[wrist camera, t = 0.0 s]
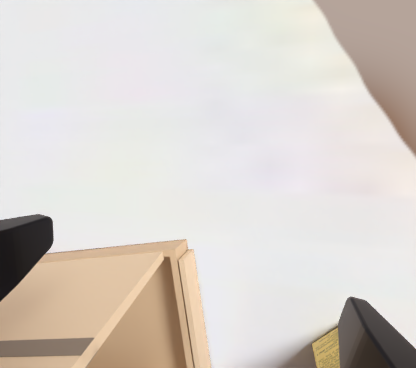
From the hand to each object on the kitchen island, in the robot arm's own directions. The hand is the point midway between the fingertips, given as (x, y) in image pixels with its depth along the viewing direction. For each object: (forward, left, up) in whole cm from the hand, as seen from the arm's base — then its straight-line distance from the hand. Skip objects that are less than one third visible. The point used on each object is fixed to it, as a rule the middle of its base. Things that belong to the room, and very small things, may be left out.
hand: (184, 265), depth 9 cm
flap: (-12, +3, -12) cm, 17 cm away
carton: (-14, -2, -15) cm, 21 cm away
